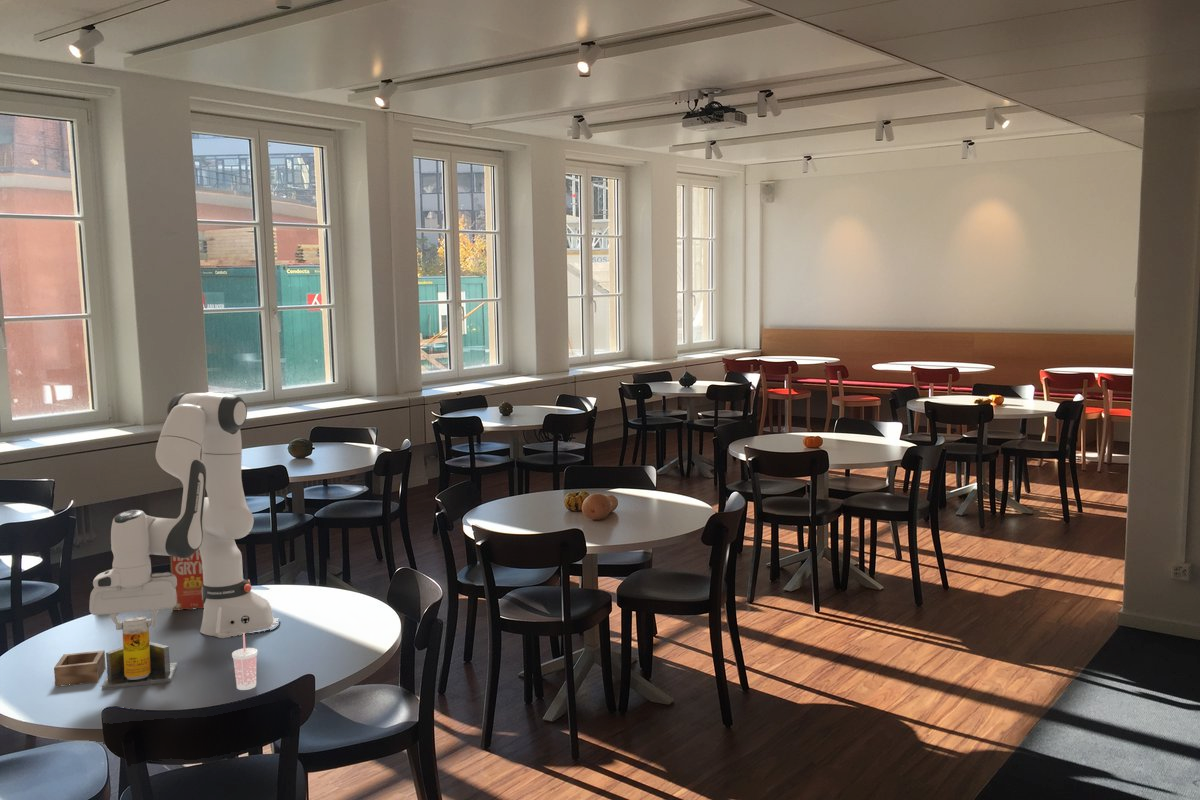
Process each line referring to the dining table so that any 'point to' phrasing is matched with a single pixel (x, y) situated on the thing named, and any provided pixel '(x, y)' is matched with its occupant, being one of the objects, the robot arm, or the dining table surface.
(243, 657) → the beverage cup
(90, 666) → the walnut sleeve
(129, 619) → the beer can
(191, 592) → the food packaging
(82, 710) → the dining table surface
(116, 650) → the V-block
